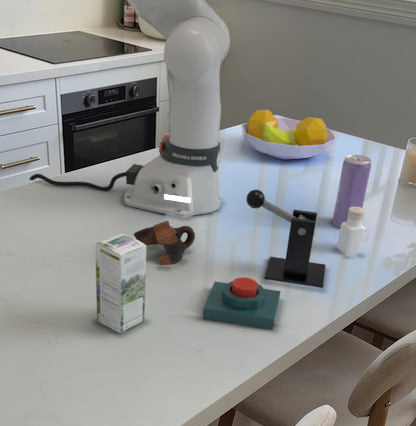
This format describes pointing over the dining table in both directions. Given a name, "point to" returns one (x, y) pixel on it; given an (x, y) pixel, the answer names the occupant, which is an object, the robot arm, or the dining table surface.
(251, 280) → the button
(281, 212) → the lever handle
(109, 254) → the syrup box
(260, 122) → the fruit bowl
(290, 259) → the lever stand
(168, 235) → the brown clay jug
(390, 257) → the dining table surface
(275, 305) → the teal base plate
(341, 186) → the beverage can
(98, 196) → the dining table surface
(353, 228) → the pepper shaker
